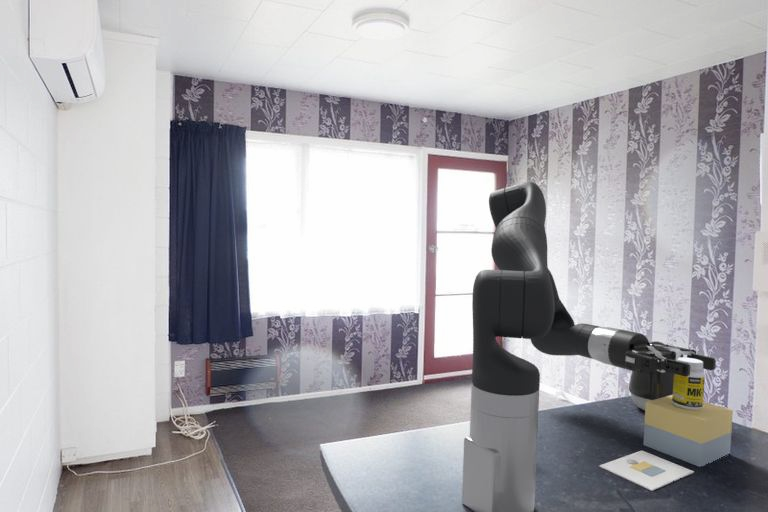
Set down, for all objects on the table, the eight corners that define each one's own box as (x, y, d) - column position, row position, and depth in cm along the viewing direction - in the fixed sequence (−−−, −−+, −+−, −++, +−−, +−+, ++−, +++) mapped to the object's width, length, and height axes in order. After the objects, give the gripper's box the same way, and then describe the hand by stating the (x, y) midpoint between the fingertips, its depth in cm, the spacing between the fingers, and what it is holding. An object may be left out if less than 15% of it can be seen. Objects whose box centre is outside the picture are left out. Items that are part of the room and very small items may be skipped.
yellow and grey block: (700, 467, 86) (703, 420, 86) (643, 444, 95) (645, 402, 94) (729, 454, 91) (732, 410, 91) (673, 434, 100) (675, 393, 99)
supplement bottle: (687, 411, 90) (690, 364, 89) (665, 402, 94) (668, 357, 94) (709, 409, 91) (712, 362, 90) (687, 400, 96) (689, 356, 95)
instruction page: (651, 491, 78) (651, 489, 78) (599, 466, 85) (599, 464, 85) (693, 472, 84) (694, 470, 84) (641, 451, 92) (641, 449, 92)
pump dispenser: (633, 398, 121) (636, 334, 120) (683, 409, 114) (687, 341, 114) (621, 409, 113) (625, 341, 112) (675, 422, 106) (679, 349, 106)
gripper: (596, 332, 100) (681, 350, 87) (639, 326, 108) (723, 342, 94) (594, 370, 101) (678, 394, 87) (637, 361, 108) (721, 382, 95)
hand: (702, 367), depth 91 cm, fingers open, 8 cm apart
